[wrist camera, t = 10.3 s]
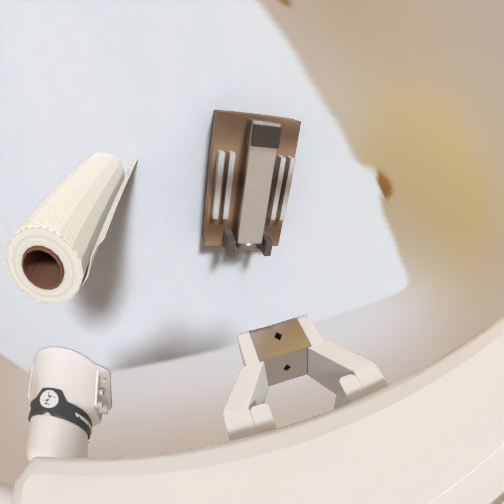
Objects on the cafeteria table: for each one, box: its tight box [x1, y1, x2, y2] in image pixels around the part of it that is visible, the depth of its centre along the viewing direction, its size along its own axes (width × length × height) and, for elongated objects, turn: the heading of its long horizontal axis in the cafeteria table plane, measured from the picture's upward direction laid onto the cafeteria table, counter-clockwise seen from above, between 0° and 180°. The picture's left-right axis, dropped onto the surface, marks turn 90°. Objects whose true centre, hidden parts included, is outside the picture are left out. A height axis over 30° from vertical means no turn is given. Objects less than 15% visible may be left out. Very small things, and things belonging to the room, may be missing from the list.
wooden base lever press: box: [203, 110, 301, 256], centre depth 36 cm, size 17×10×6 cm, turn 172°
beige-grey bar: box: [236, 120, 282, 250], centre depth 34 cm, size 16×3×2 cm, turn 172°
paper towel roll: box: [6, 152, 138, 304], centre depth 25 cm, size 7×6×21 cm
